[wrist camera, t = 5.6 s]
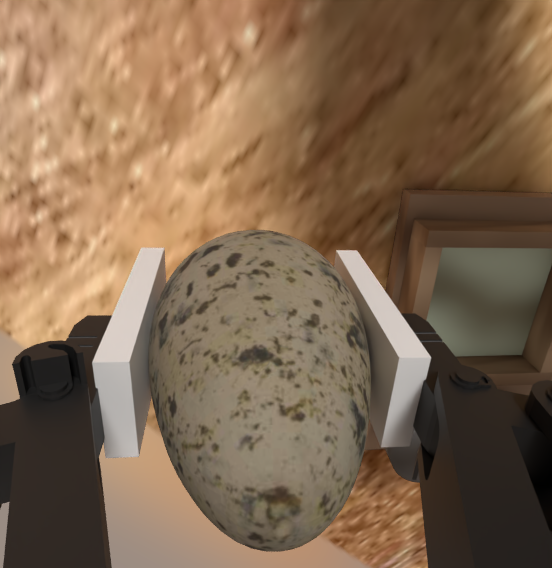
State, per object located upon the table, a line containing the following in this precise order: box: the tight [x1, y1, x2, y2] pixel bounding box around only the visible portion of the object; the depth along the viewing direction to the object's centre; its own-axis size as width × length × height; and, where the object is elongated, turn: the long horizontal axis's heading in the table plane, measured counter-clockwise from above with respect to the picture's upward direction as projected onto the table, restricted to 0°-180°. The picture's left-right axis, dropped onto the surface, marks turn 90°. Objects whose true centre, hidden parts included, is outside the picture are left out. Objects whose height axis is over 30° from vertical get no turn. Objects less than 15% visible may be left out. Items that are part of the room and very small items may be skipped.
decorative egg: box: [148, 230, 371, 551], centre depth 12 cm, size 6×6×10 cm
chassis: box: [365, 189, 552, 483], centre depth 31 cm, size 20×15×6 cm
